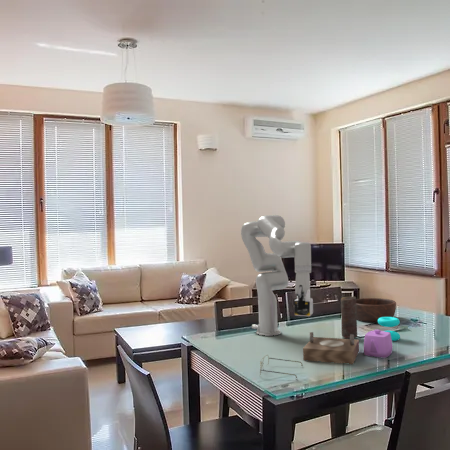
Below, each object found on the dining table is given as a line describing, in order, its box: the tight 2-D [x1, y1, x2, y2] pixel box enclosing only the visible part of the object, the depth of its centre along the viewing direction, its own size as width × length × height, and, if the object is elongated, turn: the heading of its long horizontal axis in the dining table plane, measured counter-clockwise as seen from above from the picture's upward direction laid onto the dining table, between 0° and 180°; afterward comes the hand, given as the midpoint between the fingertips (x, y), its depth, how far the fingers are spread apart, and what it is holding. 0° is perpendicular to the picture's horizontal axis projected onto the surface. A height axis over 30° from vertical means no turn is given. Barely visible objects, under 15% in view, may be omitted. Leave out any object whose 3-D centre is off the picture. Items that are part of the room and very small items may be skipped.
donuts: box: [377, 316, 401, 342], centre depth 223 cm, size 10×10×10 cm
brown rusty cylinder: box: [340, 296, 358, 339], centre depth 227 cm, size 8×7×20 cm
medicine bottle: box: [293, 288, 314, 317], centre depth 216 cm, size 7×7×12 cm
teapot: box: [363, 328, 393, 359], centre depth 199 cm, size 18×10×10 cm, turn 146°
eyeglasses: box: [259, 354, 304, 379], centre depth 180 cm, size 16×15×5 cm
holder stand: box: [302, 331, 360, 365], centre depth 199 cm, size 20×20×9 cm
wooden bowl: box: [356, 297, 397, 323], centre depth 270 cm, size 25×25×10 cm
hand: (303, 307), depth 216 cm, fingers closed on medicine bottle, 7 cm apart
